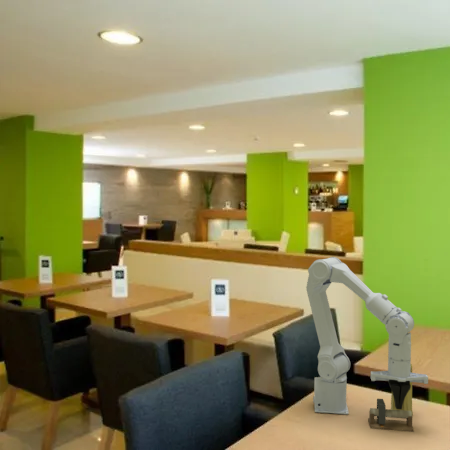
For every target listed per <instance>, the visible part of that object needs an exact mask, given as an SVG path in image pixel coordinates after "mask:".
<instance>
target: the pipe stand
mask: <svg viewBox="0 0 450 450" xmlns="http://www.w3.org/2000/svg"><path fill="white" fill-rule="evenodd" d="M390 409H391V408H390ZM390 409H386V412H385V424H379V423H378V420H377V418H375V417H377V416H378V417H379V409H377V408H374V407H373V408H371V407H370V408H369V412H368V413H369V417H368V418H367V420H368V424H369V428H370V429H374V430H375V429H376V430H388V431H389V430H390V431H402V432H403V431H404V432H414V427H413V415H412V412H413V411H412V412H411V411H405V410H390ZM386 418H396V419H397V420H396V419H386ZM398 419H401V420H398ZM402 419H406V420H402Z"/></svg>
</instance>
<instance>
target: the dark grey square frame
mask: <svg viewBox="0 0 450 450" xmlns="http://www.w3.org/2000/svg"><path fill="white" fill-rule="evenodd" d="M376 409H379V417H378V416H376V419H377V420H378V423H379V424H385V419H386V417H385V412H386V403H385V400H384V399H383V398H377V399H376Z"/></svg>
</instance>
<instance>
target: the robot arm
mask: <svg viewBox="0 0 450 450" xmlns="http://www.w3.org/2000/svg"><path fill="white" fill-rule="evenodd" d="M307 273H308V276H307V281H306V286H305V288H306V289H305V290H306V293H307V297H308V301H309V305H310V310H311V313H312V318H313V323H314V326H315V331H316V334H317V338H318V343H319V346H320V347H319V351H318V354H317V360H318V362H317V363H318V365H317V372H318V375H319V376H318V377H317V376H316V377H315V376H314V386H313V388H314V394H313V396H312V397H313V398H312V400H313V401H312V402H313V404H314V412H315V413H323V414H337V415H349V408H348V404H347V384H348V383H347V379H348V377H347V372H349V370H350V368H351V361H350V358H349V357H348V356H347V354H346V352H345V349H344V347H343V346H342V345H341V344H340V343H339V340H338V336H337V332H336V328H335V323H334V320H333V316H332V312H331V307H330V302H329V298H328V295H327V290H328V288H329V287H330V286H331V284H332V283H335V284H336V283H338V284H342V285H345V287H347V288H348V289H349V290H351V292H353V293H354V294H355V295H357V297H359V298H360V299H362V300H363V301H364V303H365V308H366V309H367V311H369V312H370V313H371V314H372V315H373V316H374V317H375V318H377V319H378V320H379V321H380V322H381V323H382V324H383V325H385V326H384V327H385V330H386V332H387V334H388V345H387V347H388V348H387V349H388V353H387V355H388V356H387V357H388V358H387V370H379V371H374V370H373V371H372V370H371V371H370V379H371V382H375V381H385V382H388V385H389V387H390V390H391V394H392V393H393V396H394V401H395V407H396V409H402V405H403V402H404V399H405V397H406V395H407V393H408V391H409V390H410V388H411V385H410V382H412V383H419V384H420V383H421V384H422V383H423V384H425V385H429V376H428V375H427V374H423V373H418V372H412V373H411V372H410V370H411V364H412V362H411V361H412V330H413V329H414V327H415V320H414V318H413V317H412V315H411V314H410V313H409V312H407V311H403V309H402V308H401V307H397V306H396V305H395V304H394V303H393V302H391V300H389V299H388V298H389V296H388V295H387V294H385V293H384V294H383V293H381V292H373V291H372V290H371V289H370V288H369V286H367V285H366V283H364V282H363V281H362V280H361V278H359V277H358V276H357V275H356V274H355V273H354V272H353V271H352V270H351V269H350V268H349V267H348V265H347V264H346V263H344V262H343V261H341V259H339V258H338V257H334V256H331V257H328V258H323V259H316V260H314V261H313V262H312V263H311V265H310V266H309V267H308V269H307Z"/></svg>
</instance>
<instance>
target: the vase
mask: <svg viewBox="0 0 450 450" xmlns="http://www.w3.org/2000/svg"><path fill="white" fill-rule="evenodd" d="M410 372H411V373H413V364H412V363H411V370H410ZM410 385H411V388H410V390H409V391H408V393H407V395H406V397H405V399H404V402H403V405H402V409H396V407H395V401H394V396H393V393H392V392H391V397H390V410H405V411H411V412H412V416H413V413H414V412H413V382H410Z"/></svg>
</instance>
